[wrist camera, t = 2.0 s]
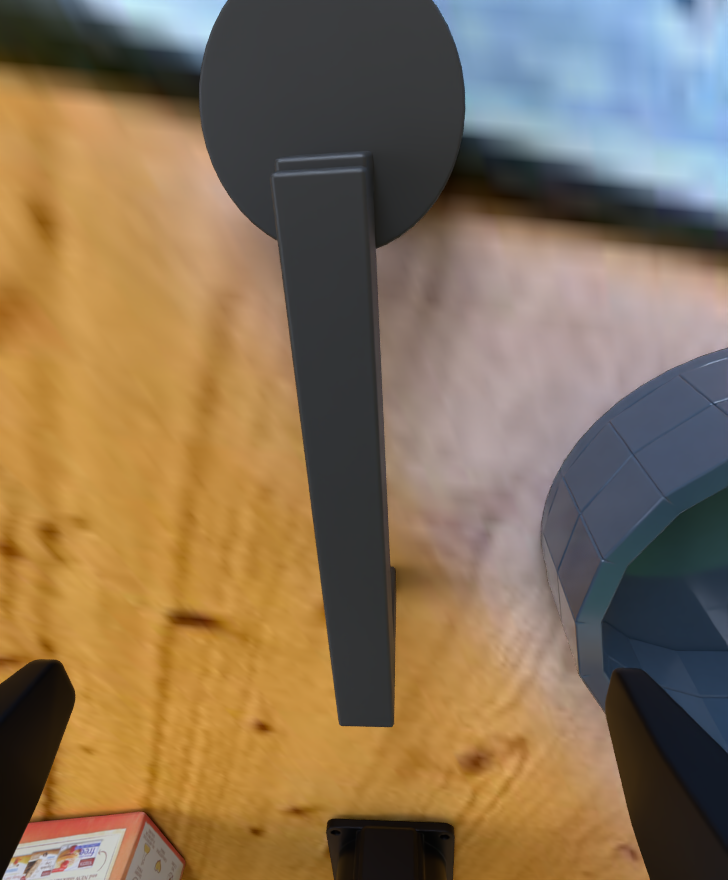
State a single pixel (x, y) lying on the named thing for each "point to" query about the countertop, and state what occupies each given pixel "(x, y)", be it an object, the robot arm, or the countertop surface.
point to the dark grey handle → (337, 255)
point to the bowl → (649, 541)
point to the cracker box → (95, 850)
